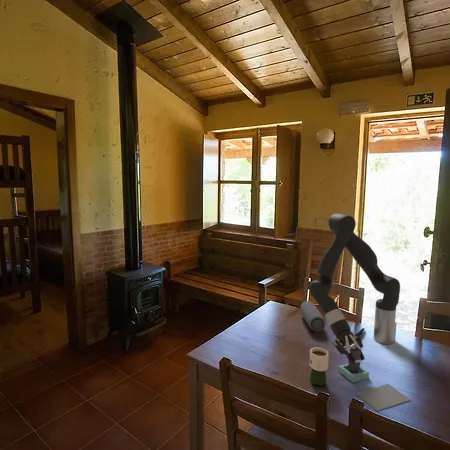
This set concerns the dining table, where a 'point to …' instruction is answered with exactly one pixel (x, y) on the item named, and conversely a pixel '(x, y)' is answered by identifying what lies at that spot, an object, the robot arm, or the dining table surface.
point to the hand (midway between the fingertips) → (358, 361)
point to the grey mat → (382, 397)
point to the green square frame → (353, 378)
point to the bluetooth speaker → (312, 316)
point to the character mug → (318, 365)
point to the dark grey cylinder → (356, 356)
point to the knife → (360, 332)
